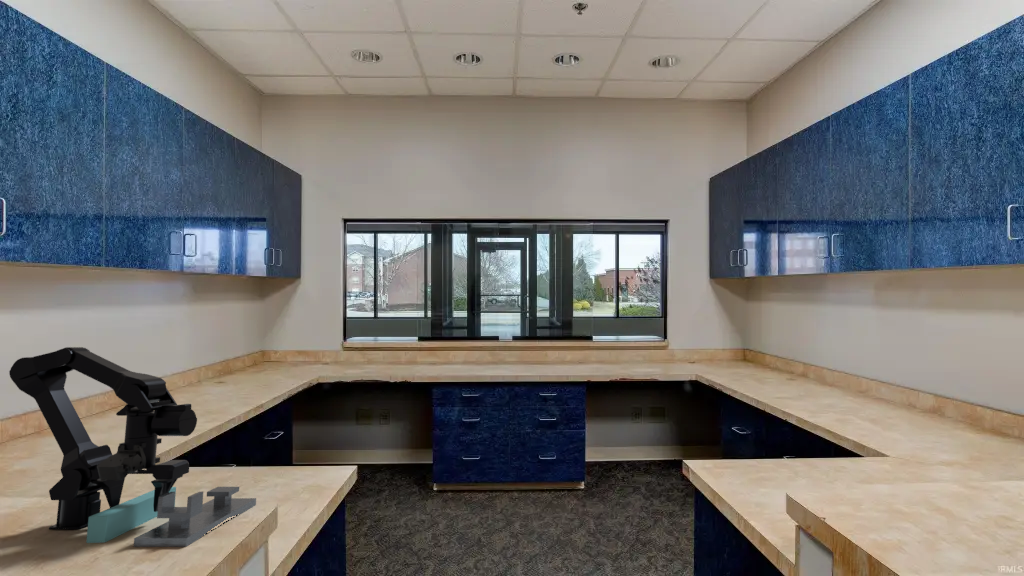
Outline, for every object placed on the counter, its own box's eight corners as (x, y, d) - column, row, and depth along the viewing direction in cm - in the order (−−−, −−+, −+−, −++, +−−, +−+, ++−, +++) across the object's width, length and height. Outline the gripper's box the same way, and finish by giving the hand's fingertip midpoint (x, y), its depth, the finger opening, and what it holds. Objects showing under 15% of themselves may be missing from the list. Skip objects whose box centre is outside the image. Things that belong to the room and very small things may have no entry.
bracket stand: (133, 546, 91) (137, 502, 92) (214, 504, 115) (216, 470, 116) (185, 546, 91) (188, 502, 92) (255, 504, 114) (257, 469, 115)
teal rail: (86, 544, 93) (88, 516, 94) (159, 509, 113) (161, 487, 113) (104, 543, 93) (107, 516, 94) (174, 509, 113) (176, 486, 114)
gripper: (64, 443, 97) (56, 525, 95) (155, 443, 97) (149, 525, 95) (111, 433, 108) (104, 506, 107) (193, 433, 108) (188, 506, 106)
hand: (135, 511), depth 103 cm, fingers open, 9 cm apart
